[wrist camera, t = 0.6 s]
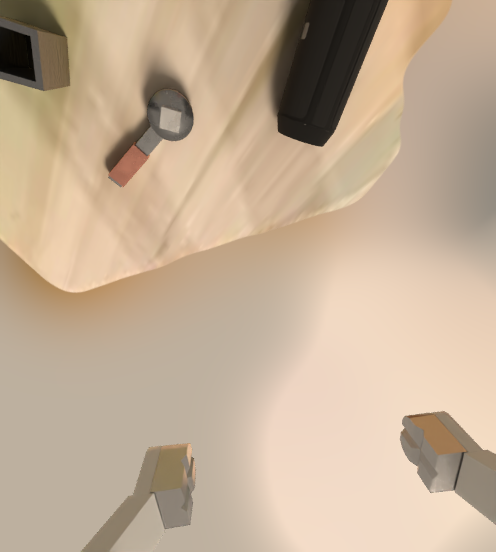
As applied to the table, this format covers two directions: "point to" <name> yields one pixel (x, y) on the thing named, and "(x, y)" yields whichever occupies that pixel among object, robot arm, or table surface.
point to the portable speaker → (326, 66)
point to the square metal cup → (46, 55)
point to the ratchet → (156, 132)
